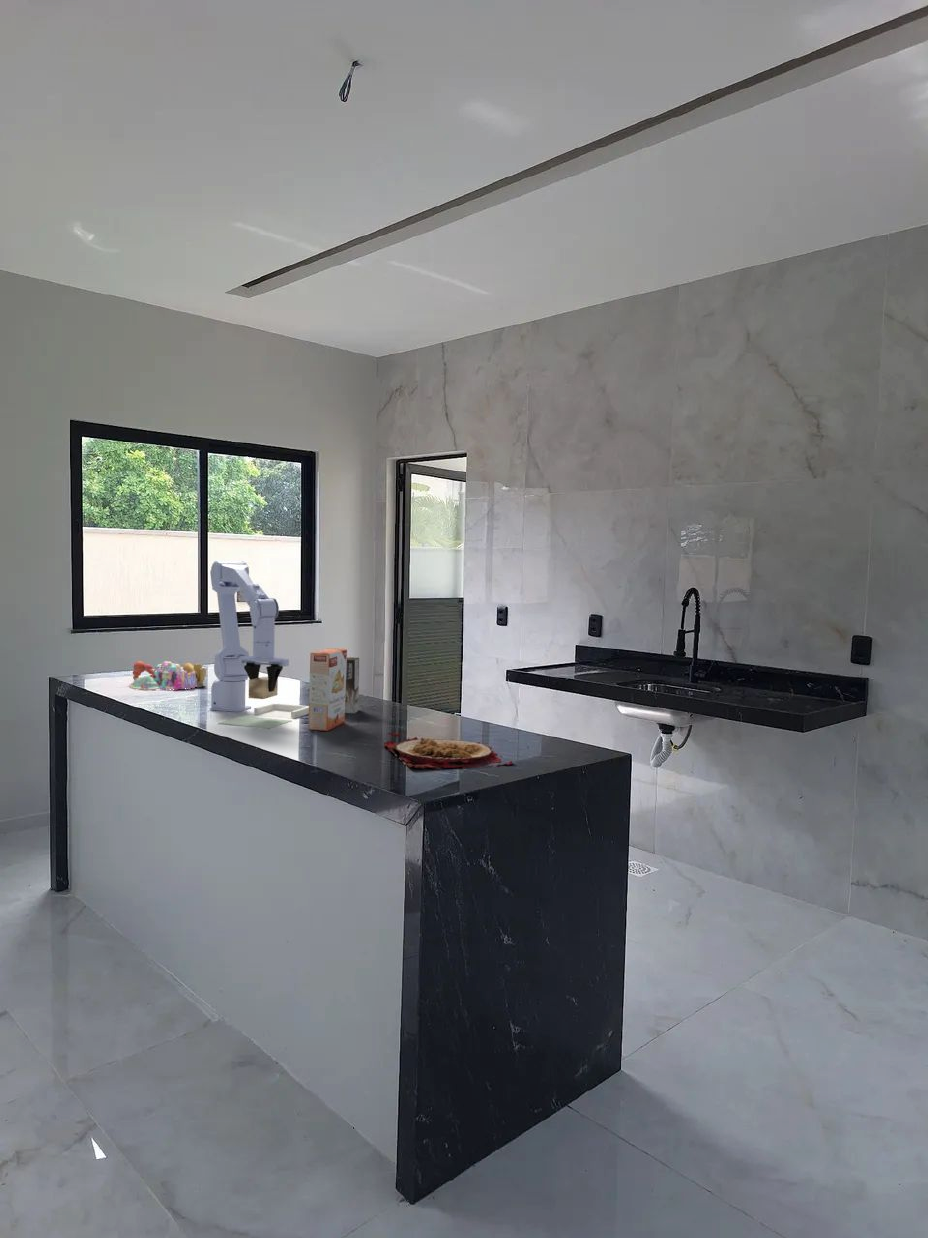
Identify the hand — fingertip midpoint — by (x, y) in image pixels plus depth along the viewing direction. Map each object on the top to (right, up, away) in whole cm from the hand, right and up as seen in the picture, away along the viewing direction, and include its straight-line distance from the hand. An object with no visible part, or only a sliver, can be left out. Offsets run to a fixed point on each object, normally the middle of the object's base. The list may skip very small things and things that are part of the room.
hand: (263, 690), depth 244 cm
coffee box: (+19, -8, +18) cm, 28 cm away
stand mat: (-1, -9, -3) cm, 9 cm away
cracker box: (+19, -10, -6) cm, 22 cm away
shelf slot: (+3, -8, +10) cm, 13 cm away
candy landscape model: (-46, -4, +59) cm, 75 cm away
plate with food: (+52, -13, -37) cm, 65 cm away
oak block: (0, -2, 0) cm, 2 cm away
